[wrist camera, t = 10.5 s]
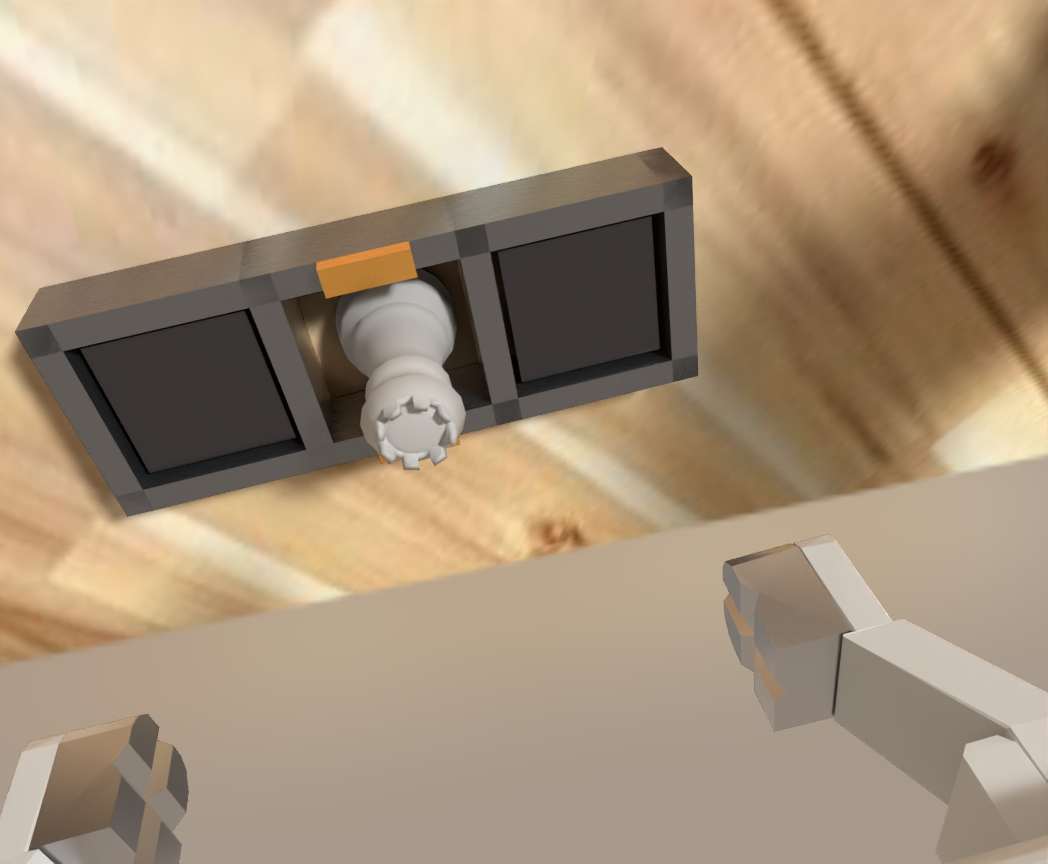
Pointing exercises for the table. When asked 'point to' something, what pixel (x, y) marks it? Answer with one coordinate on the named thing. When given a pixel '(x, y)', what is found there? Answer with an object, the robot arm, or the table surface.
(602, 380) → the rack
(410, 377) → the rook chess piece
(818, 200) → the table surface
